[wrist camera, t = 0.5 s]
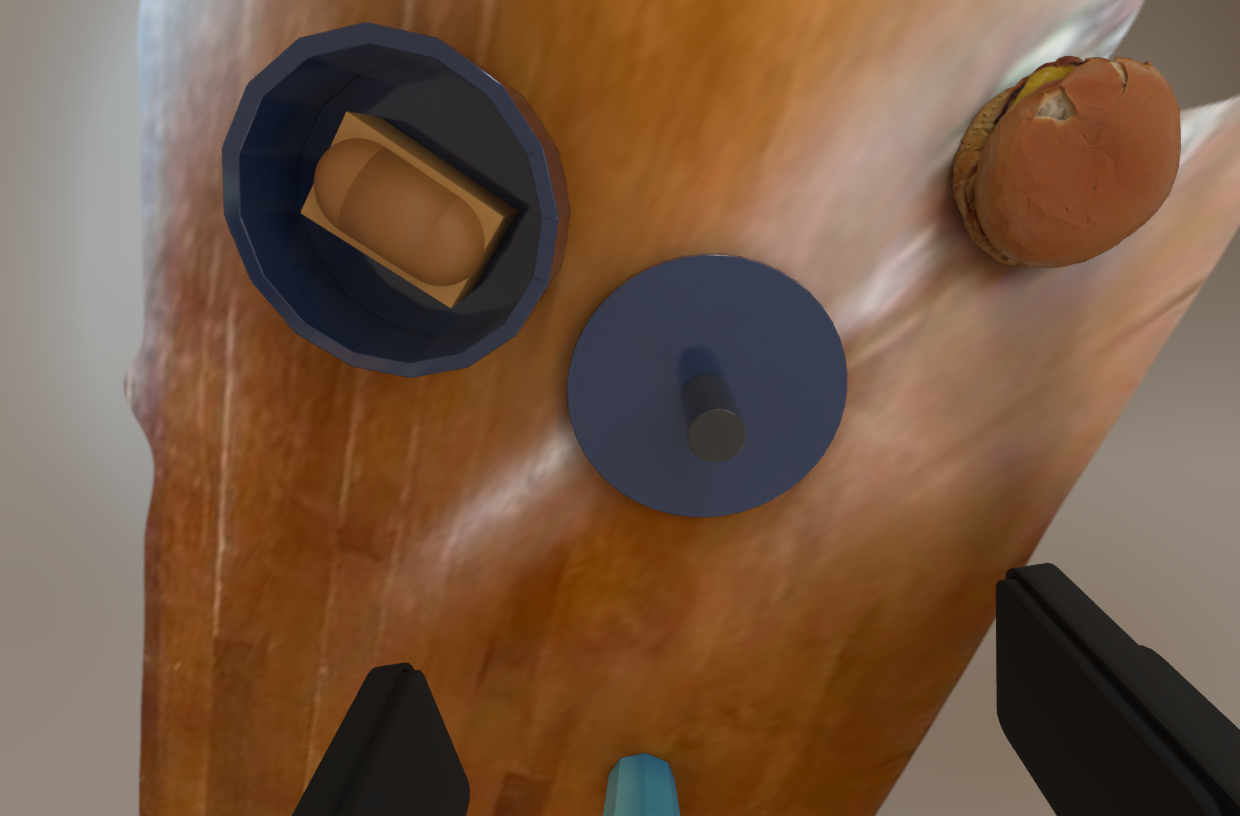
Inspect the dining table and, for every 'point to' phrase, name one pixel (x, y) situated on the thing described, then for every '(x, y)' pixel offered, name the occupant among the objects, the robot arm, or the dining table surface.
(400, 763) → the robot arm
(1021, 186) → the burger
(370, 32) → the pot
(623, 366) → the lid
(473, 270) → the bread
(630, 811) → the cup
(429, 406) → the dining table surface
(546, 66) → the dining table surface
